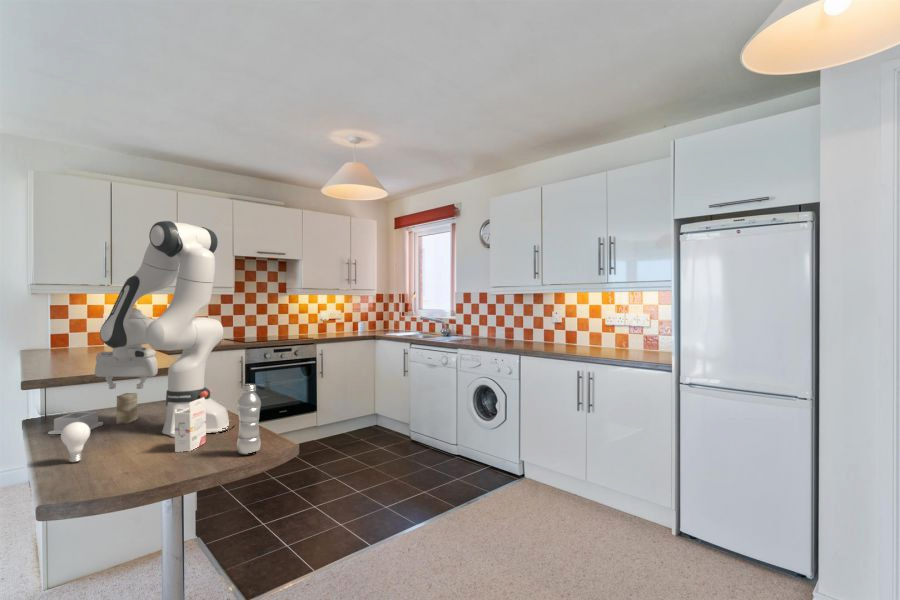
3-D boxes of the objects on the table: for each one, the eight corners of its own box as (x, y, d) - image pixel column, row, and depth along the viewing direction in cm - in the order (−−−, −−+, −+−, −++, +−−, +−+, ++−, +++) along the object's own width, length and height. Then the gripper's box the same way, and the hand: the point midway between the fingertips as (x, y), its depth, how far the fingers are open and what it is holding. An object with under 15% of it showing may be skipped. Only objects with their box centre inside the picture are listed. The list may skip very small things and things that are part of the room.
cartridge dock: (102, 424, 165) (103, 410, 166) (81, 433, 154) (81, 418, 154) (72, 425, 164) (72, 411, 164) (48, 435, 152) (48, 420, 152)
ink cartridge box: (190, 443, 142) (191, 396, 143) (206, 443, 142) (206, 396, 142) (173, 452, 134) (173, 402, 134) (190, 452, 134) (190, 402, 134)
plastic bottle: (255, 448, 138) (255, 382, 138) (264, 453, 133) (264, 384, 133) (233, 453, 133) (233, 384, 133) (241, 458, 128) (242, 387, 128)
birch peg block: (137, 419, 174) (137, 392, 174) (128, 423, 168) (128, 396, 168) (125, 419, 173) (125, 393, 173) (116, 423, 167) (116, 396, 167)
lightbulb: (65, 467, 121) (66, 426, 121) (56, 463, 125) (56, 423, 125) (94, 461, 127) (94, 421, 127) (84, 457, 130) (84, 418, 130)
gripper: (91, 352, 166) (90, 390, 166) (151, 352, 169) (150, 390, 169) (101, 350, 172) (100, 386, 172) (160, 351, 175) (159, 386, 175)
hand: (126, 388), depth 171 cm, fingers open, 8 cm apart
